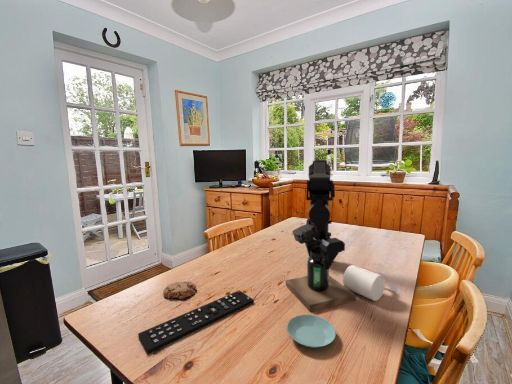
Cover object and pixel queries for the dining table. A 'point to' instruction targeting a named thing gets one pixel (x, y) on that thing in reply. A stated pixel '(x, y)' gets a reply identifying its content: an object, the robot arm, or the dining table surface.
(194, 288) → the cookie
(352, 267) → the mug
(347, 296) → the walnut board
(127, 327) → the dining table surface
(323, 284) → the supplement bottle
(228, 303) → the remote control
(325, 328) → the saucer
